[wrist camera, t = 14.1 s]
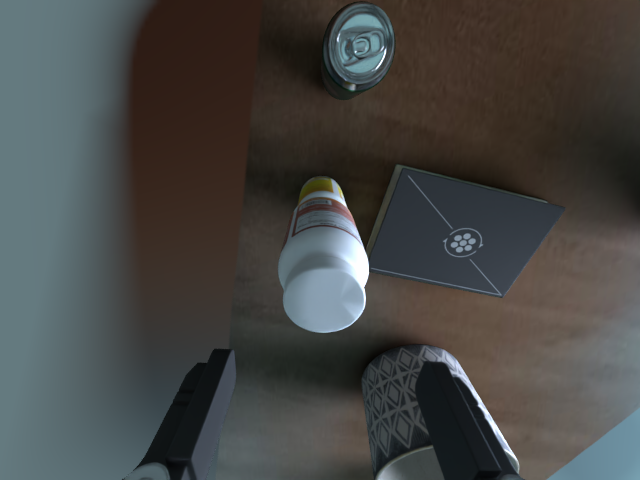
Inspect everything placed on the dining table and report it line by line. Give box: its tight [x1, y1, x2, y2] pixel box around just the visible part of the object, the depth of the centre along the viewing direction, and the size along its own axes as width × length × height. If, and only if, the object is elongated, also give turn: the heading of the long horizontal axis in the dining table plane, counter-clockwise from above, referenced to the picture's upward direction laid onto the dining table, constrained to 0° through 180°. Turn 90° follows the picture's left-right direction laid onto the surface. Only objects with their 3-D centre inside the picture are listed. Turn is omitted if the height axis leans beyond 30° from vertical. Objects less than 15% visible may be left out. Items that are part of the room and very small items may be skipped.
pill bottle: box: [278, 197, 369, 333], centre depth 19 cm, size 6×6×11 cm
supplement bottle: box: [298, 176, 347, 207], centre depth 28 cm, size 6×6×10 cm
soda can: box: [321, 1, 395, 100], centre depth 22 cm, size 5×5×12 cm
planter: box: [362, 344, 519, 480], centre depth 41 cm, size 19×19×16 cm
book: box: [365, 164, 565, 298], centre depth 34 cm, size 22×15×3 cm
